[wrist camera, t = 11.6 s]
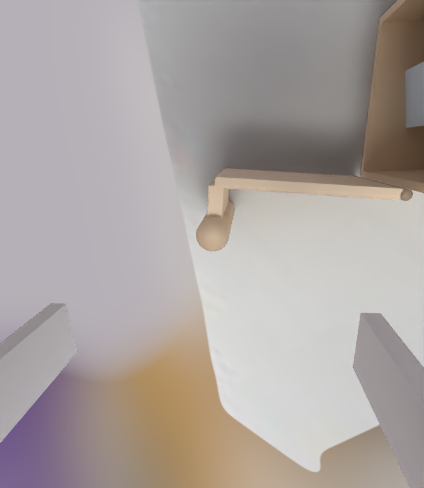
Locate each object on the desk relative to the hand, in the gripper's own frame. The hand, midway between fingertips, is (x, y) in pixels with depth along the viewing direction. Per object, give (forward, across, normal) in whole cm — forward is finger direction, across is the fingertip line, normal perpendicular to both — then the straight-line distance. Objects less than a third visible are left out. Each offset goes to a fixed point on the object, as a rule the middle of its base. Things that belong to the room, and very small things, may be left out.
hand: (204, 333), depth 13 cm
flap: (+21, +5, +2) cm, 21 cm away
